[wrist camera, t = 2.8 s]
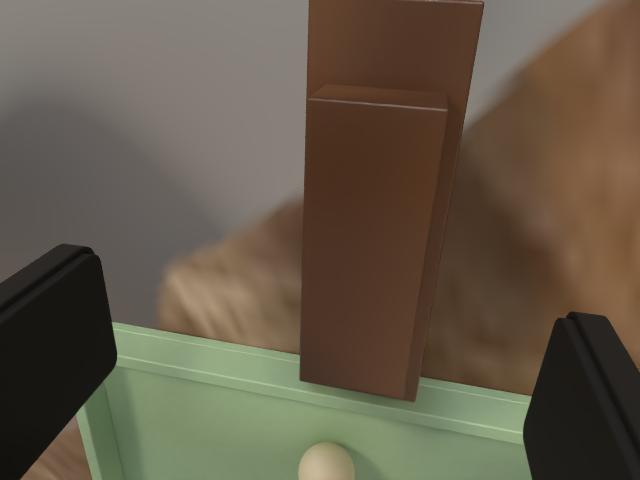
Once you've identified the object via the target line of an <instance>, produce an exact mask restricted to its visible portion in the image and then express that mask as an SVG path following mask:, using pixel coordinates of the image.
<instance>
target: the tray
mask: <svg viewBox="0 0 640 480" xmlns="http://www.w3.org/2000/svg"><path fill="white" fill-rule="evenodd" d="M112 326H113V332H114V337H115V343H116V348H117V362H116V365H115V367H114V369H113V370H112V372H111V373H110V374H109V375H108V376H107V378H106V379H105V380H104V381H103V382H102V384H101V385H100V386H99V387H98V388H97V389H96V391H95V392H94V393H93V394H92V395H91V396H90V398H89V399H88V400H87V401H86V402H85V404H84V405H83V406H82V407H81V408H80V409H79V411H78V412H77V413H76V417H77V420H78V425H79V428H80V432H81V436H82V440H83V444H84V448H85V452H86V456H87V459H88V463H89V467H90V471H91V475H92V479H93V480H299V477H298V469H299V464H300V461H301V459H302V457H303V455H304V454H305V452H306V451H307V450H308V449H309V448H311V447H312V446H314V445H315V444H318V443H321V442H331V443H335V444H338V445H339V446H341V447H343V448H344V449H345V450H346V451H347V452H348V453H349V455H350V457H351V458H352V461H353V463H354V467H355V480H532V477H531V473H530V468H529V464H528V460H527V455H526V451H525V447H524V442H523V424H524V420H525V417H526V414H527V411H528V407H529V404H530V401H531V398H532V396H527V395H521V394H515V393H510V392H504V391H499V390H493V389H487V388H482V387H476V386H470V385H465V384H459V383H454V382H448V381H442V380H437V379H431V378H425V377H420V379H419V384H418V390H417V396H416V401H415V402H409V401H404V400H398V399H393V398H388V397H382V396H377V395H372V394H366V393H361V392H356V391H350V390H345V389H340V388H334V387H329V386H324V385H318V384H313V383H307V382H302V381H300V380H299V368H300V355H296V354H291V353H285V352H279V351H274V350H268V349H262V348H257V347H251V346H246V345H240V344H234V343H229V342H223V341H217V340H212V339H206V338H201V337H195V336H189V335H184V334H178V333H172V332H167V331H161V330H156V329H150V328H144V327H138V326H132V325H128V324H122V323H116V322H112Z"/></svg>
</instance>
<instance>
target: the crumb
mask: <svg viewBox="0 0 640 480" xmlns="http://www.w3.org/2000/svg"><path fill="white" fill-rule="evenodd" d="M298 477H299V480H355V467H354V463H353V461H352V458H351V457H350V455H349V453H348V452H347V451H346V450H345V449H344V448H343V447H341V446H339V445H338V444H335V443H331V442H321V443H318V444H315V445H314V446H312V447H311V448H309V449H308V450H307V451H306V452H305V454H304V455H303V457H302V459H301V461H300V464H299V469H298Z"/></svg>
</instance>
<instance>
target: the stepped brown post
mask: <svg viewBox="0 0 640 480" xmlns="http://www.w3.org/2000/svg"><path fill="white" fill-rule="evenodd" d="M483 8H484V2H482V1H471V0H309V20H308V60H307V61H308V63H307V99H306V136H305V138H306V139H305V140H306V141H305V176H304V214H303V252H302V291H301V330H300V368H299V380H300V381H302V382H307V383H313V384H318V385H324V386H329V387H334V388H340V389H345V390H350V391H356V392H361V393H366V394H372V395H377V396H382V397H388V398H393V399H398V400H404V401H409V402H415V401H416V396H417V390H418V384H419V379H420V373H421V367H422V361H423V356H424V350H425V344H426V338H427V332H428V327H429V321H430V315H431V309H432V303H433V298H434V292H435V286H436V280H437V275H438V269H439V263H440V257H441V251H442V246H443V240H444V234H445V228H446V223H447V217H448V211H449V205H450V199H451V194H452V188H453V182H454V176H455V170H456V165H457V159H458V153H459V147H460V142H461V136H462V130H463V124H464V118H465V113H466V107H467V101H468V95H469V89H470V83H471V78H472V72H473V66H474V61H475V55H476V49H477V43H478V37H479V32H480V25H481V20H482V14H483Z"/></svg>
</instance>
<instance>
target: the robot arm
mask: <svg viewBox="0 0 640 480" xmlns="http://www.w3.org/2000/svg"><path fill="white" fill-rule="evenodd" d="M116 362H117V348H116V343H115V337H114V332H113V326H112V320H111V315H110V309H109V304H108V298H107V293H106V287H105V282H104V277H103V271H102V265H101V261H100V258H99V257H98V256H97V255H95V254H94V252H93V250H92V249H91V248H89V247H84V246H77V245H69V244H61V245H58V246H56V247H55V248H53V249H52V250H50V251H49V252H47V253H46V254H44V255H43V256H41V257H40V258H38V259H37V260H35V261H34V262H32V263H31V264H29V265H28V266H26V267H25V268H23V269H22V270H20V271H19V272H17V273H15V274H14V275H12V276H11V277H9V278H8V279H6V280H5V281H3V282H2V283H0V480H20V479H21V478H22V477H23V475H24V474H25V473H26V472H27V471H28V469H29V468H30V467H31V466H32V465H33V464H34V462H35V461H36V460H37V459H38V458H39V456H40V455H41V454H42V453H43V452H44V451H45V449H46V448H47V447H48V446H49V445H50V444H51V442H52V441H53V440H54V439H55V438H56V436H57V435H58V434H59V433H60V432H61V431H62V429H63V428H64V427H65V426H66V425H67V424H68V422H69V421H70V420H71V419H72V418H73V416H74V415H75V414H76V413H77V412H78V411H79V409H80V408H81V407H82V406H83V405H84V404H85V402H86V401H87V400H88V399H89V398H90V396H91V395H92V394H93V393H94V392H95V391H96V389H97V388H98V387H99V386H100V385H101V384H102V382H103V381H104V380H105V379H106V378H107V376H108V375H109V374H110V373H111V372H112V370H113V369H114V367H115V365H116ZM523 442H524V447H525V451H526V455H527V460H528V464H529V468H530V473H531V477H532V480H640V373H639V371H638V369H637V367H636V366H635V364H634V362H633V361H632V359H631V357H630V356H629V354H628V352H627V351H626V349H625V347H624V345H623V344H622V342H621V340H620V339H619V337H618V335H617V334H616V332H615V330H614V329H613V327H612V325H611V323H610V322H609V320H608V319H607V318H606V317H605V316H602V315H594V314H587V313H579V312H570V313H569V314H568V315H567V317H566V318H558V319H557V320H556V321H555V324H554V327H553V330H552V333H551V337H550V340H549V343H548V346H547V349H546V353H545V356H544V359H543V362H542V366H541V369H540V372H539V375H538V378H537V382H536V385H535V388H534V391H533V395H532V398H531V401H530V404H529V407H528V411H527V414H526V417H525V420H524V424H523Z"/></svg>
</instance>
